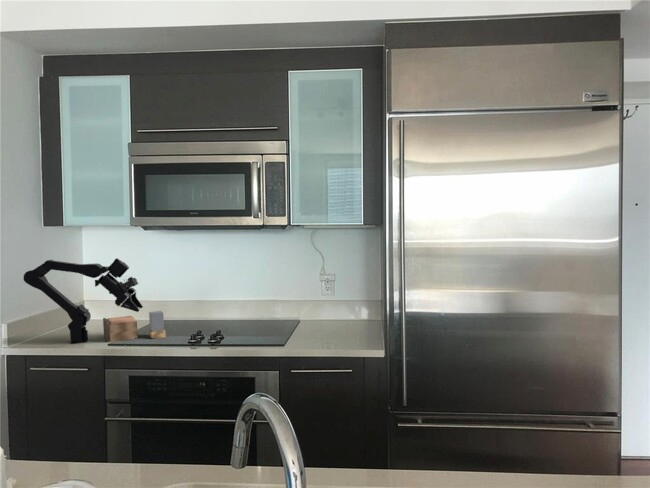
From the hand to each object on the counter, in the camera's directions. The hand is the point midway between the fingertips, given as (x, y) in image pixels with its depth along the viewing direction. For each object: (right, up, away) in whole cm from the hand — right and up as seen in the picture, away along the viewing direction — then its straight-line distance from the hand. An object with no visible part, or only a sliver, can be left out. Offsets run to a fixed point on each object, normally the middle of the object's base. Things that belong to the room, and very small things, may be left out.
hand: (140, 309), depth 252 cm
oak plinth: (+7, -12, +2) cm, 14 cm away
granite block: (+7, -9, +2) cm, 12 cm away
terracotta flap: (-9, -5, +2) cm, 11 cm away
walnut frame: (-9, -13, +2) cm, 16 cm away
